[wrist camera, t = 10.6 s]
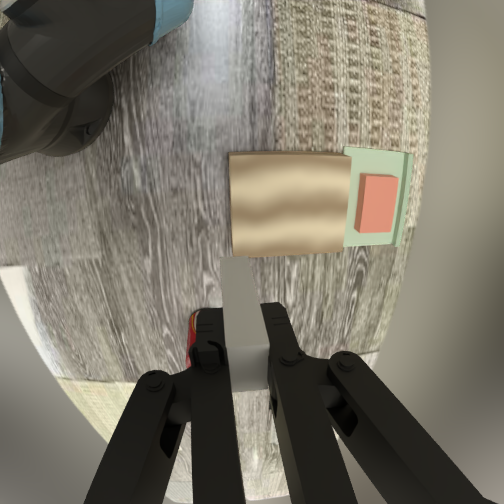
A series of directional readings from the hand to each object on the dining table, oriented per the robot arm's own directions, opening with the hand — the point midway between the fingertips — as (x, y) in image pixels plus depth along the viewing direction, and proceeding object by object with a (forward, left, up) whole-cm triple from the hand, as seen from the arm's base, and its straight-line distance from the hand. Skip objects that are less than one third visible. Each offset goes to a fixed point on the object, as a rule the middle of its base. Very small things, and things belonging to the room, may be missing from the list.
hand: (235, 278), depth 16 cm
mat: (+3, +23, -26) cm, 35 cm away
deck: (+3, +9, -26) cm, 27 cm away
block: (+4, +23, -23) cm, 33 cm away
